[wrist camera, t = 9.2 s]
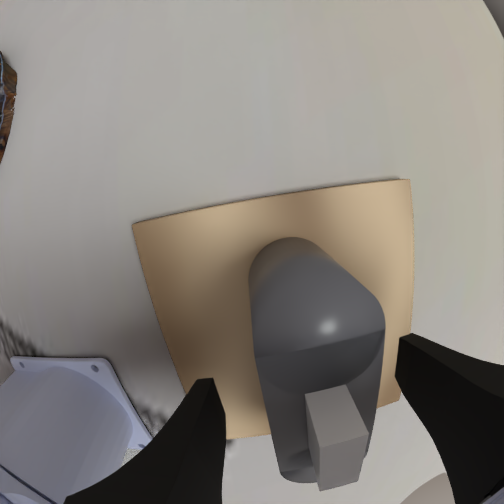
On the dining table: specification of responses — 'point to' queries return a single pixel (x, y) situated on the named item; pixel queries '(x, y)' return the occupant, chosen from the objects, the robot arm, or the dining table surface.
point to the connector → (315, 360)
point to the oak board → (237, 287)
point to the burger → (6, 101)
